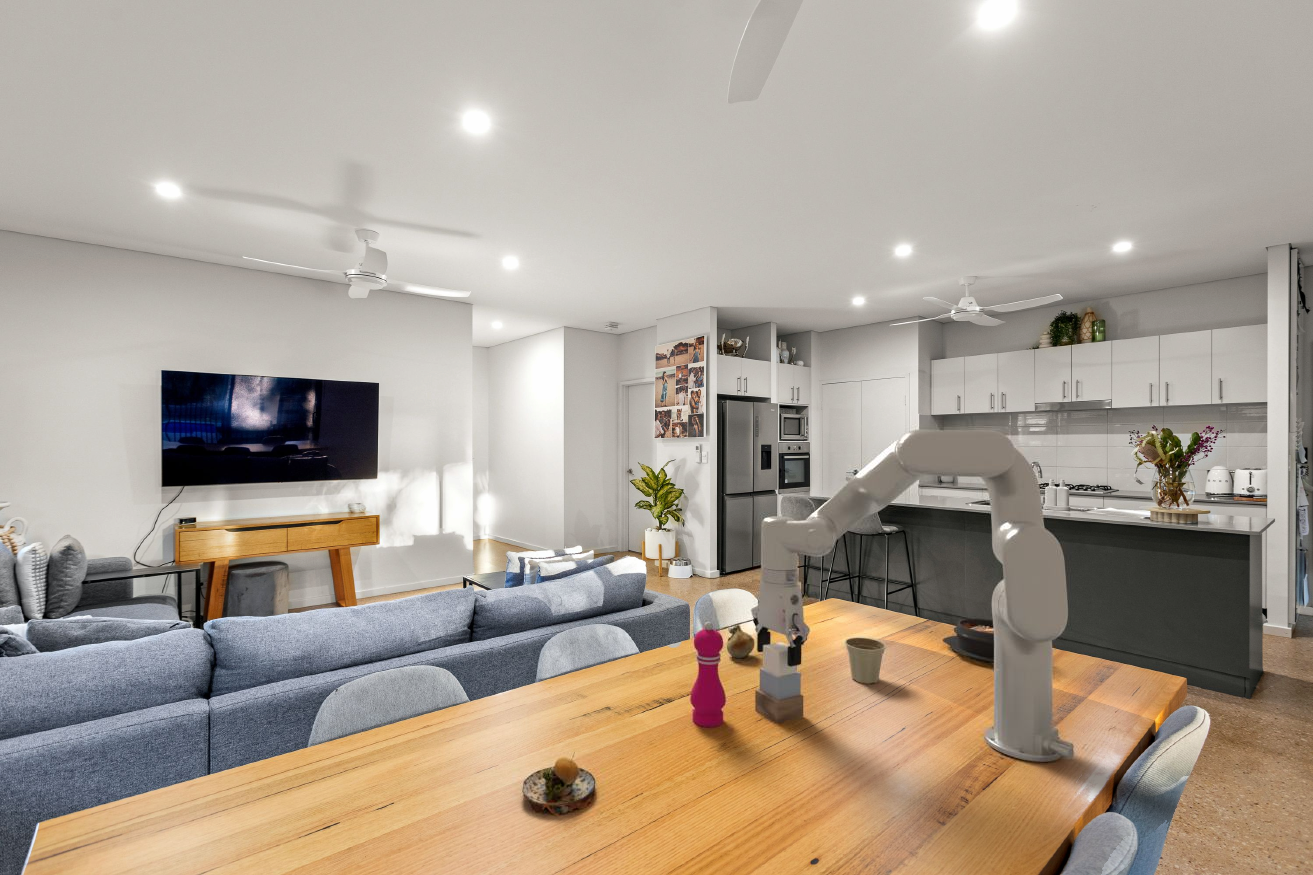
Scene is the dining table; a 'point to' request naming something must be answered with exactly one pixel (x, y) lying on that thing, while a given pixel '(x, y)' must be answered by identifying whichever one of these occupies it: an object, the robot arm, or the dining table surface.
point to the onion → (739, 643)
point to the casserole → (974, 639)
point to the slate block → (780, 684)
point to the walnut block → (778, 707)
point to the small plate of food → (559, 787)
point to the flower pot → (865, 659)
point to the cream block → (777, 659)
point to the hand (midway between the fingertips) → (778, 657)
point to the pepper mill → (708, 679)
